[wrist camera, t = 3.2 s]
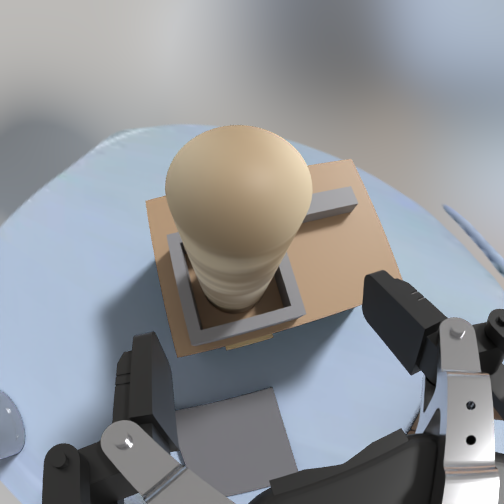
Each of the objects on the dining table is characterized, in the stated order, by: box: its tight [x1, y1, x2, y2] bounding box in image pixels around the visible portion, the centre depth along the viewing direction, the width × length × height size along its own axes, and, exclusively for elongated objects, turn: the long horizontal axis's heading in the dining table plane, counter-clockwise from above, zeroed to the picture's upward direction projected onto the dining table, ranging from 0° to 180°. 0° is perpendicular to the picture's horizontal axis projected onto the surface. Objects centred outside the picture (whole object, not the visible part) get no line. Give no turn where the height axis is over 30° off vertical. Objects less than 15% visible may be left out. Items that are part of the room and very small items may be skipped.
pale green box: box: [146, 159, 402, 358], centre depth 28 cm, size 19×13×13 cm
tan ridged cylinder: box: [165, 125, 313, 314], centre depth 16 cm, size 5×5×14 cm
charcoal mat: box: [175, 387, 298, 497], centre depth 27 cm, size 11×11×1 cm
